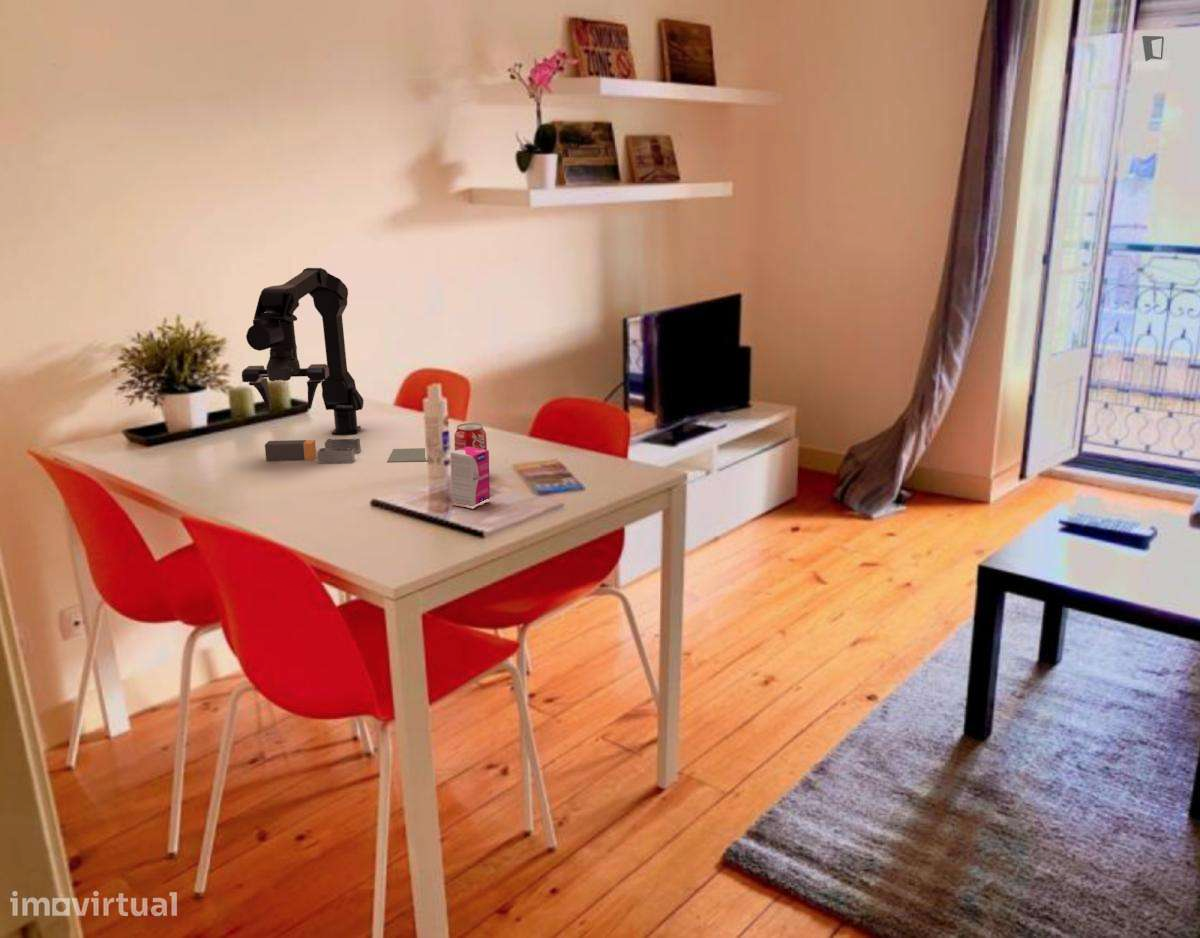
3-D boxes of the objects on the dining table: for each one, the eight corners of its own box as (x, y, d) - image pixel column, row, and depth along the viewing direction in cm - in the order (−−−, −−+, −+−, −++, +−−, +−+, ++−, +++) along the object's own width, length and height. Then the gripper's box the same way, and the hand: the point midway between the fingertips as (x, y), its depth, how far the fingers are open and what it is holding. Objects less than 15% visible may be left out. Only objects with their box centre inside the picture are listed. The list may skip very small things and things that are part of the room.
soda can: (491, 473, 219) (488, 422, 215) (484, 483, 212) (482, 430, 209) (460, 472, 220) (457, 421, 216) (452, 482, 213) (450, 429, 209)
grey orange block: (270, 456, 233) (268, 440, 232) (316, 455, 234) (315, 439, 233) (266, 461, 230) (264, 444, 229) (313, 459, 231) (311, 443, 229)
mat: (393, 449, 239) (393, 448, 238) (438, 448, 239) (438, 447, 239) (386, 462, 228) (386, 461, 228) (433, 461, 229) (433, 460, 229)
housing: (327, 451, 238) (326, 438, 237) (360, 450, 238) (359, 437, 237) (318, 463, 227) (317, 450, 226) (352, 462, 228) (351, 449, 227)
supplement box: (473, 510, 195) (471, 456, 192) (451, 505, 198) (448, 451, 195) (491, 502, 200) (489, 449, 196) (469, 497, 203) (466, 445, 199)
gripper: (231, 350, 213) (239, 418, 218) (317, 348, 215) (324, 416, 219) (244, 341, 224) (252, 407, 228) (326, 339, 225) (332, 405, 230)
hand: (289, 409), depth 226 cm, fingers open, 9 cm apart
